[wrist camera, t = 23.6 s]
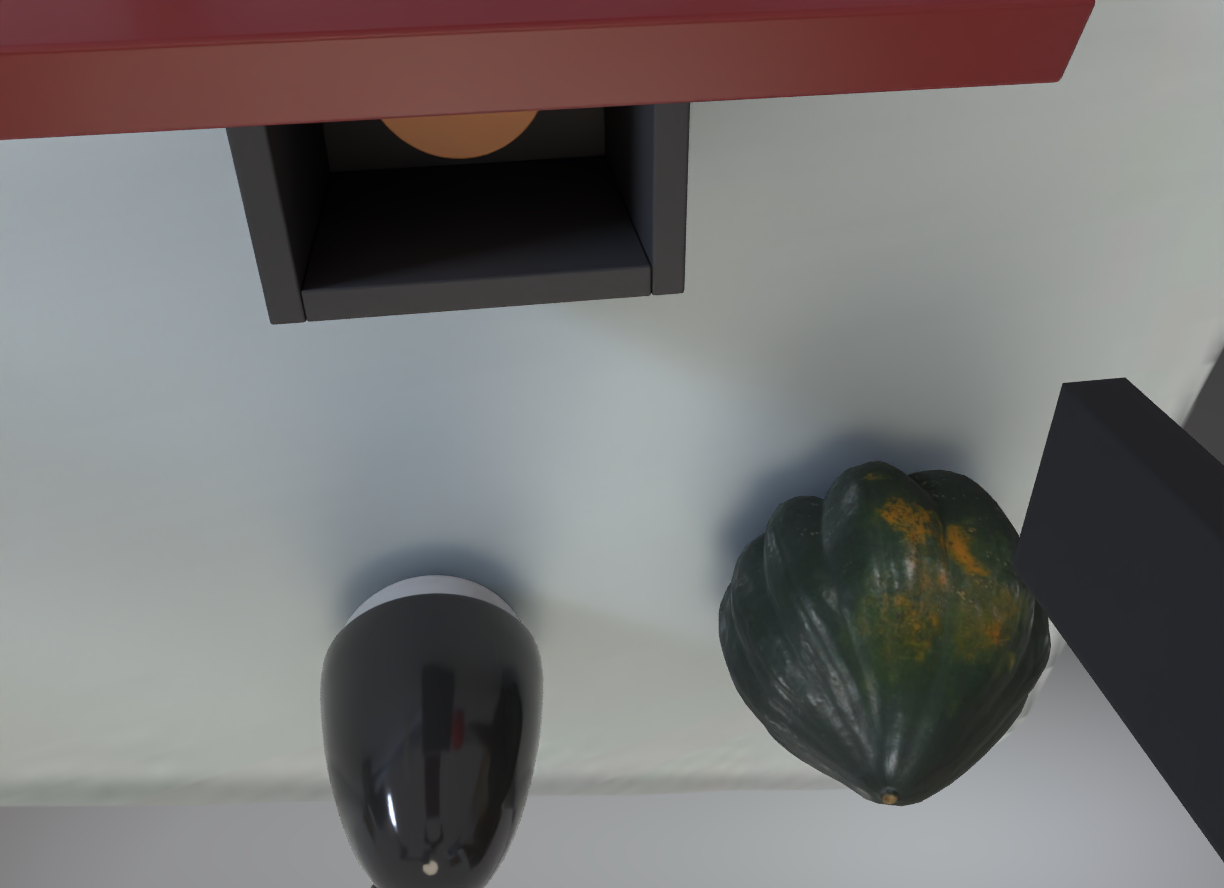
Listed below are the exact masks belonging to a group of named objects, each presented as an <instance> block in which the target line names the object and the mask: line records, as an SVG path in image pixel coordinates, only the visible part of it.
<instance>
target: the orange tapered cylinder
mask: <svg viewBox="0 0 1224 888" xmlns="http://www.w3.org/2000/svg"><path fill="white" fill-rule="evenodd" d="M537 113H538V111H520V112H502V113H484V114H466V115H447V116H429V117H411V118H393V119H381V120H382V121H383V123H384V124H385V125H386V126H387V127H388V128H389V129H390V130H391V131H392V132H393V133H394V134H395V135H396V136H397V137H399V138H400V139H402V140H403V141H404V142H406V143H407V144H409V145H411V146H412V147H414V148H416V149H418V150H420V151H423V152H425V153H428V154H431V155H435V156H439V157H444V158H451V159H467V158H475V157H479V156H483V155H487V154H490V153H492V152H495V151H497V150H499V149H501V148H503V147H505V146H506V145H508V144H510V143H511V142H512V141H514V140H515V139H516V138H518V137H519V136H520V135H521V134H522V133H523V132H524V131H525V130H526V129H527V127H528V126H529V125H530V124H531V122H532V121H533V120H534V118H535V116H536V115H537Z"/></svg>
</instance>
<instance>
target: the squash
mask: <svg viewBox="0 0 1224 888" xmlns="http://www.w3.org/2000/svg"><path fill="white" fill-rule="evenodd" d="M1019 538H1020V537H1019V535H1018V533H1017V532H1016V530H1015V528H1014V527H1013V525H1012V524H1011V522H1010V521H1009V519H1008V518H1007V517H1006V515H1005V514H1004V512H1003V511H1002V509H1001V508H1000V507H999V505H998V504H997V502H996V501H995V500H994V499H993V498H992V497H991V496H990V495H989V494H988V493H987V492H986V491H985V490H984V489H983V488H982V487H980V486H979V485H978V484H977V483H976V482H974V481H973V480H972V479H970V478H968V477H966V476H965V475H961V474H957V473H954V472H951V471H944V470H931V471H922V472H916V473H913V474H910V475H906V474H905V473H904V472H902V471H900V470H899V469H897V468H896V467H894V466H892V465H890V464H887V463H885V462H881V461H875V462H868V463H865V464H862V465H859V466H856V467H852V468H849V469H847V470H846V471H844V472H843V473H842V474H841V475H840V476H839V477H838V478H837V479H836V480H835V481H834V483H833V484H832V486H831V488H830V489H829V491H828V493H827V496H826V498H825V499H822V498H818V497H815V496H799V497H794V498H792V499H790V500H788V501H786V502H784V503H782V504H780V505H779V506H778V508H777V509H776V511H775V512H774V514H773V515H772V517H771V519H770V520H769V522H768V525H767V529H766V533H764V534H762V535H760V536H759V537H757V538H756V539H755V540H753V541H752V542H751V543H749V544H748V545H747V546H746V548H745V549H744V551H743V552H742V554H741V555H740V557H739V558H738V560H737V563H736V566H735V569H734V573H733V578H732V582H731V583H730V585H729V586H728V588H727V590H726V592H725V594H724V597H723V599H722V602H721V604H720V609H719V638H720V643H721V647H722V651H723V655H724V658H725V661H726V664H727V666H728V669H729V672H730V675H731V678H732V680H733V683H734V685H735V687H736V689H737V691H738V693H739V694H740V696H741V697H742V699H743V700H744V702H745V704H746V705H747V706H748V707H749V708H750V710H751V711H752V712H753V713H754V715H755V716H756V717H757V718H758V719H759V720H760V721H761V722H762V724H763V725H764V726H765V727H766V729H767V730H768V732H769V733H770V735H771V736H772V737H773V738H774V739H775V740H776V741H777V742H778V743H779V744H781V745H782V746H783V747H784V748H785V749H787V750H788V751H789V752H790V753H792V754H793V755H794V756H796V757H797V758H799V759H800V760H802V761H803V762H805V763H807V764H809V765H810V766H812V767H814V768H815V769H817V770H819V771H820V772H822V773H824V774H826V775H828V776H830V777H832V778H834V779H836V780H838V781H840V782H841V783H843V784H844V785H846V786H847V787H849V788H850V789H852V790H853V791H855V792H856V793H858V794H859V795H861V796H862V797H863V798H865V799H867V800H870V801H873V802H875V803H878V804H887V805H896V806H905V805H910V804H915V803H918V802H921V801H923V800H925V799H927V798H929V797H930V796H932V795H934V794H936V793H937V792H939V791H940V790H942V789H943V788H945V787H947V786H948V785H950V784H951V783H953V782H954V781H955V780H956V779H958V778H959V777H960V776H961V775H963V774H964V773H965V772H966V771H968V769H970V768H971V767H972V766H973V765H974V764H975V763H976V762H978V761H979V760H980V759H981V758H982V757H983V756H984V755H985V754H986V753H987V752H988V751H989V750H990V749H991V748H992V747H993V746H994V745H995V744H996V743H997V742H998V741H999V740H1000V739H1001V738H1002V736H1003V735H1004V734H1005V733H1006V732H1007V730H1008V729H1009V728H1010V727H1011V725H1012V724H1013V723H1014V721H1015V720H1016V718H1017V717H1018V716H1019V714H1020V713H1021V711H1022V709H1023V707H1024V704H1025V702H1026V700H1027V697H1028V694H1029V693H1030V691H1031V690H1032V689H1033V688H1034V686H1035V684H1036V682H1037V681H1038V679H1039V677H1040V676H1041V674H1042V672H1043V670H1044V669H1045V667H1046V665H1047V662H1048V659H1049V654H1050V648H1051V642H1050V634H1049V622H1048V616H1047V614H1046V613H1045V612H1044V610H1043V609H1042V607H1041V606H1040V605H1039V603H1038V602H1037V600H1036V599H1035V598H1034V596H1033V595H1032V593H1031V592H1030V591H1029V589H1028V588H1027V587H1026V585H1025V584H1024V582H1023V581H1022V580H1021V578H1020V577H1019V575H1018V574H1017V573H1016V571H1015V570H1014V568H1013V567H1012V563H1013V559H1014V556H1015V552H1016V549H1017V545H1018V541H1019Z"/></svg>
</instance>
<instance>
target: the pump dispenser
mask: <svg viewBox="0 0 1224 888" xmlns="http://www.w3.org/2000/svg"><path fill="white" fill-rule="evenodd" d="M320 704H321V721H322V733H323V742H324V751H325V757H326V763H327V768H328V774H329V778H330V783H331V787H332V791H333V795H334V799H335V802H336V806H337V809H338V813H339V816H340V819H341V822H342V825H343V828H344V830H345V833H346V836H347V838H348V841H349V843H350V846H351V848H352V850H353V853H354V855H355V857H356V859H357V860H358V863H359V864H360V866H361V867H362V869H363V871H364V872H365V874H366V875H367V876H368V878H369V879H370V880H371V882H372V883H373V885H372V887H371V888H485V886H486V885H487V884H488V883H489V882H490V880H491V879H492V877H493V876H494V874H495V873H496V871H497V870H498V868H499V867H500V864H501V863H502V861H503V860H504V858H505V856H506V854H507V852H508V850H509V848H510V846H511V843H512V841H513V839H514V836H515V834H516V831H517V828H518V825H519V823H520V820H521V817H522V813H523V810H524V807H525V803H526V800H527V796H528V792H529V788H530V784H531V780H532V775H533V771H534V766H535V761H536V756H537V751H538V745H539V738H540V729H541V719H542V705H543V671H542V662H541V656H540V652H539V649H538V646H537V644H536V642H535V640H534V638H533V636H532V635H531V633H530V632H529V631H528V629H527V628H526V627H525V626H524V625H523V624H522V623H521V621H520V619H519V618H518V616H517V615H516V614H515V612H514V611H513V610H512V609H511V608H510V606H509V605H508V604H507V603H506V602H505V601H504V600H502V599H501V598H500V597H499V596H498V595H496V594H495V593H494V592H492V591H490V590H489V589H487V588H485V587H483V586H481V585H479V584H477V583H475V582H472V581H469V580H466V579H463V578H458V577H453V576H444V575H428V576H419V577H413V578H409V579H405V580H402V581H399V582H397V583H394V584H392V585H389V586H388V587H386V588H384V589H382V590H380V591H379V592H377V593H375V594H374V595H373V596H371V597H370V598H369V599H367V600H366V601H365V602H364V603H363V604H362V605H361V606H360V607H359V608H358V609H357V610H356V611H355V612H354V613H353V615H352V616H351V617H350V619H349V620H348V621H347V623H346V624H345V626H344V628H343V629H342V630H341V631H340V632H339V634H338V635H337V636H336V637H335V639H334V640H333V642H332V643H331V645H330V647H329V649H328V651H327V653H326V656H325V659H324V663H323V668H322V675H321V687H320Z"/></svg>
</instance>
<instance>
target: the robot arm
mask: <svg viewBox="0 0 1224 888" xmlns="http://www.w3.org/2000/svg"><path fill="white" fill-rule="evenodd" d="M1012 567H1013V568H1014V570H1015V571H1016V573H1017V574H1018V575H1019V577H1020V578H1021V580H1022V581H1023V582H1024V584H1025V585H1026V587H1027V588H1028V589H1029V591H1030V592H1031V593H1032V595H1033V596H1034V598H1035V599H1036V600H1037V602H1038V603H1039V605H1040V606H1041V607H1042V609H1043V610H1044V612H1045V613H1046V614H1047V616H1048V617H1049V619H1050V620H1051V621H1052V623H1053V624H1054V626H1055V627H1056V628H1057V630H1058V631H1059V633H1060V634H1061V635H1062V637H1063V638H1064V640H1065V641H1066V642H1067V644H1068V645H1069V647H1070V648H1071V649H1072V651H1073V652H1074V654H1075V655H1076V656H1077V658H1078V659H1079V661H1080V662H1081V663H1082V665H1083V666H1084V668H1085V669H1086V670H1087V672H1088V673H1089V675H1090V676H1091V677H1092V679H1093V680H1094V682H1095V683H1096V684H1097V686H1098V687H1099V689H1100V690H1101V691H1102V693H1103V694H1104V695H1105V697H1106V698H1107V700H1108V701H1109V702H1110V704H1111V705H1112V707H1113V708H1114V709H1115V711H1116V712H1117V713H1118V715H1119V716H1120V718H1121V719H1122V721H1123V722H1124V723H1125V725H1126V726H1127V728H1128V729H1129V730H1130V732H1131V733H1132V735H1133V736H1134V737H1135V739H1136V740H1137V742H1138V743H1139V744H1140V746H1141V747H1142V749H1143V750H1144V751H1145V753H1146V754H1147V755H1148V757H1149V758H1150V760H1151V761H1152V763H1153V764H1154V765H1155V767H1156V768H1157V769H1158V771H1159V772H1160V774H1161V775H1162V776H1163V778H1164V779H1165V781H1166V782H1167V783H1168V785H1169V786H1170V788H1171V789H1172V791H1173V792H1174V793H1175V795H1176V796H1177V797H1178V799H1179V800H1180V802H1181V803H1182V804H1183V806H1184V807H1185V809H1186V810H1187V811H1188V813H1189V814H1190V816H1191V817H1192V818H1193V820H1194V821H1195V823H1196V824H1197V825H1198V827H1199V828H1200V829H1201V831H1202V832H1203V834H1204V835H1205V837H1206V838H1207V839H1208V841H1209V842H1210V844H1211V845H1212V846H1213V848H1214V849H1215V851H1216V852H1217V853H1218V855H1219V856H1220V857H1221V859H1222V860H1223V862H1224V465H1222V464H1221V463H1220V462H1219V461H1218V460H1217V459H1216V458H1214V456H1212V455H1211V454H1210V453H1209V452H1208V451H1207V450H1206V449H1204V448H1203V447H1202V446H1201V445H1200V444H1199V443H1198V442H1197V441H1196V440H1195V439H1193V438H1192V437H1191V436H1190V435H1189V434H1188V433H1187V432H1186V431H1184V430H1183V429H1182V428H1181V427H1180V426H1179V425H1178V424H1177V423H1176V422H1174V421H1173V420H1172V419H1171V418H1170V417H1169V416H1168V415H1167V414H1165V413H1164V412H1163V411H1162V410H1161V409H1160V408H1159V407H1158V406H1156V405H1155V404H1154V403H1153V402H1152V401H1151V400H1150V399H1149V398H1148V397H1146V396H1145V395H1144V394H1143V393H1142V392H1141V391H1140V390H1139V389H1137V388H1136V387H1135V386H1134V385H1133V384H1132V383H1131V382H1130V381H1129V380H1127V379H1126V378H1115V379H1103V380H1092V381H1081V382H1070V383H1063V384H1062V388H1061V391H1060V395H1059V398H1058V402H1057V405H1056V409H1055V413H1054V416H1053V420H1052V423H1051V427H1050V431H1049V434H1048V438H1047V441H1046V445H1045V448H1044V452H1043V456H1042V459H1041V463H1040V466H1039V470H1038V473H1037V477H1036V481H1035V484H1034V488H1033V491H1032V495H1031V498H1030V502H1029V506H1028V509H1027V513H1026V516H1025V520H1024V524H1023V527H1022V531H1021V534H1020V538H1019V541H1018V545H1017V549H1016V552H1015V556H1014V559H1013V563H1012Z"/></svg>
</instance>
